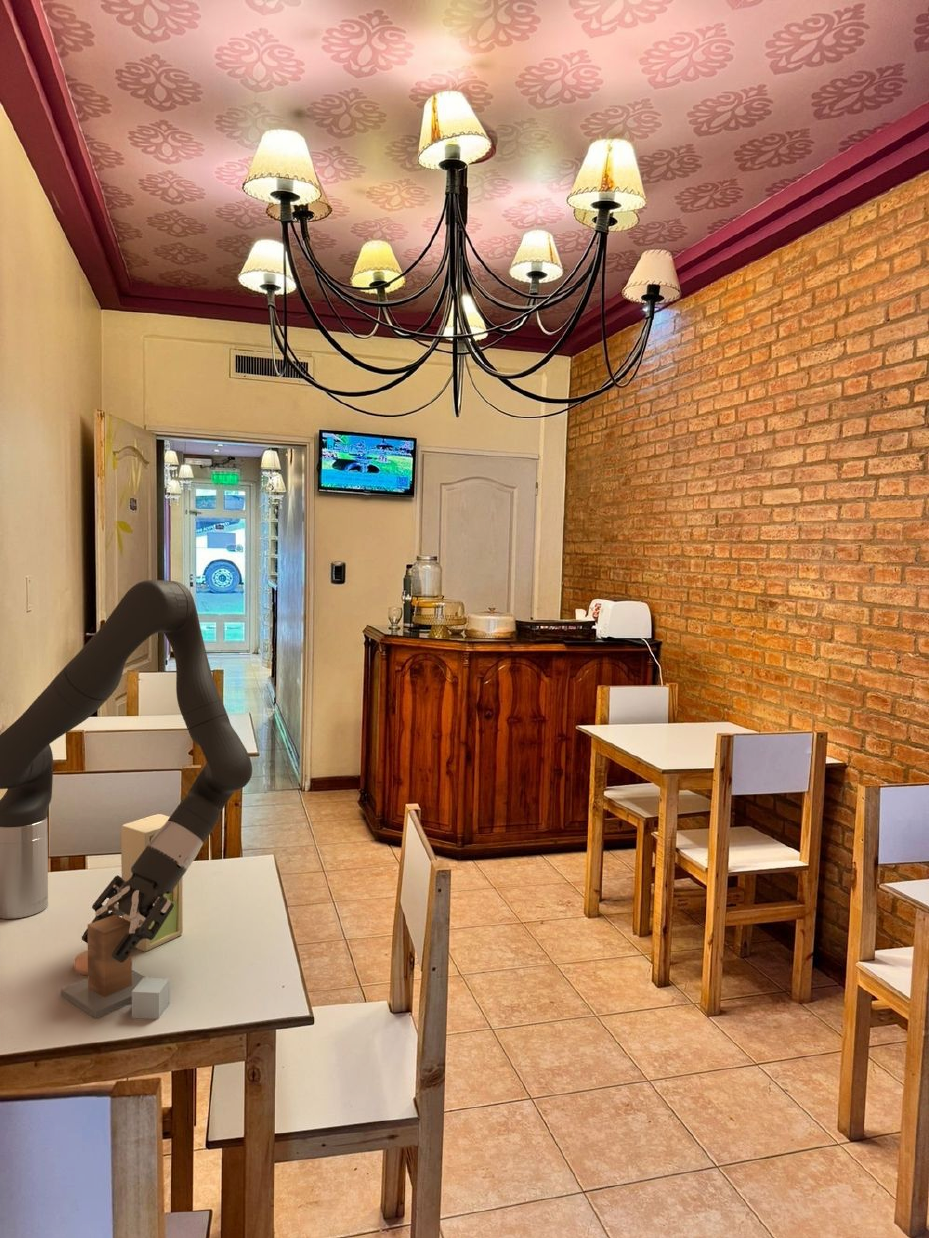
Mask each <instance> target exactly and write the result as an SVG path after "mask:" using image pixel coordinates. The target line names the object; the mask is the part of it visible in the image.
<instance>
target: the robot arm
mask: <svg viewBox="0 0 929 1238" xmlns="http://www.w3.org/2000/svg"><path fill="white" fill-rule="evenodd" d="M199 619H200V618H199V615H198V611H197V607H196V603H195V599H194V596H193V595H192V593H191V591H190V590H189V588H188V587H187V586H186V585H185V584H183V583H181V582H179V581H174V580H165V579H164V580H163V579H162V580H160V579H147V580H143V581H139V582H137V583H135V584H134V585H133V586H132V587H131V588H129V589H128V590H127V592H126V593H125V594H124V595H123V597H122V598H121V600H120V601H119V602H118V604H116V606H115V608H114V610H113V611H112V612H111V613H110V615H109V616H108V618H107V619H106V620H105V622H104V623H103V625H102V626H101V627H100V629H98V631H97V632H96V633H95V634H94V635H93V636H92V637H91V638H90V639H89V640H88V641H87V642H86V644H85V645H84V646H83V647H82V648H81V649H80V651H78V653H77V654H76V655H75V656H74V657H73V658H71V660H70V661H69V662H68V663H67V664H66V665H65V666H64V667H63V668H62V669H61V671H59V673H58V674H57V675H56V676H55V677H54V678H53V680H51V681H50V683H49V685H47V687H46V688H45V689H43V691H42V692H41V693H40V694H39V695H38V696H37V698H36V699H34V701H33V702H32V703H31V704H30V705H29V707H28V708H27V709H26V710H25V711H24V712H23V714H22V715H21V716H20V717H19V718H18V719H16V720H15V721H14V722H13V723H12V724H11V725H10V726H8V727H7V728H6V729H5V730H4V731H3V732H1V734H0V790H6V791H5V793H4V795H3V796H2V797H1V799H0V919H4V920H5V919H7V920H8V919H19V918H26V917H30V916H32V915H35V914H38V913H40V912H43V910H45V909H47V907H48V906H49V858H48V857H49V853H48V849H49V846H48V841H49V840H48V839H49V838H48V837H49V836H48V809H49V806H50V804H51V801H52V797H53V779H54V756H53V750H52V748H51V745H50V744H51V743H53V742H55V741H56V740H58V739H59V738H60V737H62V736H64V735H65V734H67V733H69V732H70V731H71V730H73V729H74V728H76V727H78V726H80V725H81V724H82V723H84V722H85V721H86V720H87V719H89V718H90V717H91V716H92V715H94V713H96V712H97V711H98V710H99V709H100V708H101V707H102V706H103V705H104V703H106V701H107V700H108V699H110V697H111V696H112V695H113V694H114V692H115V691H116V689H117V688H118V686H119V684H120V682H121V679H122V677H123V672H124V668H125V665H126V663H127V661H128V660H129V658H130V657H131V655H133V653H134V652H135V651H136V650H137V649H138V648H139V647H140V646H141V645H142V644H143V643H144V642H146V640H148V639H149V638H150V637H152V636H153V635H155V634H158V633H159V634H161V633H163V634H164V636H165V637H166V639H167V640H168V641H167V642H168V643H169V645H170V647H171V649H172V653H173V657H174V661H175V662H174V663H175V669H176V670H175V671H176V672H175V673H176V677H175V678H176V680H175V681H176V685H175V687H176V689H175V691H176V699H177V705H178V707H179V711H180V714H181V716H182V719H183V721H184V724H185V726H186V729H187V730H188V734H189V735H190V739H191V740H192V741H193V743H194V744H196V745H198V746H199V748H200V749H201V752H202V753H203V756H204V758H205V761H206V764H205V765H204V767H202V769H201V771H200V773H199V774H198V776H197V777H196V778H195V781H194V782H193V783H192V785H191V787H190V788H189V790H188V793H187V794H186V796H185V797H184V798H183V799H182V801H180V802H179V804H178V805H177V807H176V808H175V810H174V811H173V812H172V814H171V815H170V816H169V817H170V818H169V819H168V821H167V822H166V823H165V824H164V825H163V826H162V827H161V828H160V830H159V831H158V832H157V833H156V834H155V836H154V837H153V838H152V840H151V841H150V843H149V844H148V845H147V847H146V848H145V849H144V851H143V852H142V854H141V855H140V856H139V858H138V859H137V860H136V862H135V863H134V865H133V866H132V867H131V872H132V873H133V875H132V877H131V878H130V879H129V880H128V881H125V880H124V879H123V878H122V876H120V875H116V876H114V877H113V879H112V880H111V881H110V882H109V884H108V885H107V886H106V887H105V888H104V889H103V891H102V893H101V894H100V895H99V896H98V898H97V899H96V900H95V901H94V903H93V904H92V906H91V909H93V911H94V912H95V915H94V916H95V917H94V919H92V920H91V922H90V923H93V922H96V921H98V920H101V919H104V918H107V917H109V916H112V915H117V916H119V917H122V916H123V915H124V914H127V915H129V916H130V920H131V924H130V929H129V933H130V934H128V933H126V934H125V936H124V937H123V939H122V940H121V942H120V943H119V944H118V946H117V947H116V949H115V950H114V952H113V953H112V958H114V959H116V960H117V961H119V962H121V963H122V962H124V961H125V960H126V959H127V958H128V957H129V955H130V954H131V952H132V953H133V951H134V950H135V948H136V945H137V944H138V942H139V941H140V940H143V939H149V940H152V939H153V938H154V937H155V936H156V934H157V932H158V931H159V929H160V928H161V926H162V924H163V923H164V921H165V920H166V918H167V916H168V915H169V913H170V912H171V910H172V909H173V907H174V904H173V903H172V902H171V901H170V900H168V899H167V898H165V897H164V894H170V893H171V892H172V891H173V890H174V888H175V887H176V885H177V884H178V882H179V881H180V879H181V878H182V877H183V876H184V875H185V873H186V872H187V871H188V870H189V868H190V866H191V865H192V864H193V862H194V861H195V859H196V857H197V856H198V854H199V852H200V850H201V848H202V846H203V844H204V843H205V842H206V840H207V839H208V837H209V836H210V835H211V833H212V832H213V830H214V829H215V827H216V826H217V824H218V822H219V820H220V818H221V812H222V810H224V808H225V806H226V805H227V803H228V802H229V800H230V799H231V797H232V796H233V795H234V794H235V792H237V791H239V790H241V789H243V788H244V787H246V786H247V785H248V783H249V782H250V781H251V778H252V775H253V765H252V761H251V757H250V754H249V752H248V750H247V749H246V746H245V745H244V743H243V742H242V740H241V738H240V736H239V734H238V733H237V732H236V730H235V729H234V727H233V726H232V723H231V721H230V718H229V715H228V712H227V710H226V708H225V704H224V703H223V700H222V698H221V696H220V693H219V690H218V688H217V684H216V683H215V680H214V677H213V674H212V670H211V666H210V663H209V659H208V654H207V650H206V645H205V642H204V638H203V632H202V628H201V625H200V624H201V623H200V620H199ZM183 878H184V877H183ZM106 899H107V902H106V903H105V904H104V902H105V901H106ZM103 904H104V905H103ZM153 921H154V922H155V923H154V925H153V926H152V928H151V930H150V929H149V926H150V925H151V923H152V922H153ZM138 926H139V927H138ZM81 941H83V942H85V943H86V944H88V927H87V928H86V930H85V931H84V932H83V935H82V936H81Z"/></svg>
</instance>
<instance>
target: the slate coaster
mask: <svg viewBox="0 0 929 1238" xmlns="http://www.w3.org/2000/svg"><path fill="white" fill-rule="evenodd" d="M143 978H147V976H145V975H143V974H141V973H139V972H137V971H136V970H133V969H132V985H131V986H129V987H126V988H124V989H122V990H120V991H118V992H115V993H113V994H111V995H109V996H106V997H103V996H101V995H99V994H98V993H96V992H94V991H93V990H91V989H89V988H88V977H87V978H84V979H82V980H80V981H78V982H75V983H71V984H70V985H68V986H65V987H63V988H61V989H60V996H61V997H63V998H64V999H65V1000H67V1001H69V1002H70V1003H72V1004H73V1005H75V1006H77V1008H79V1009H81V1010H82V1011H84V1012H85V1013H87V1014H89V1015H90V1016H91V1017H93V1018H95V1019H99V1018H100V1017H103V1016H105V1015H107V1014H109V1013H112V1012H113V1011H115V1010H118V1009H121V1008H123V1007H125V1006H127V1005H129V1004H132V991H133V990H134V988H135V987H136V986H137V985H138V983H139V982H140V981H141V980H142V979H143Z"/></svg>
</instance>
